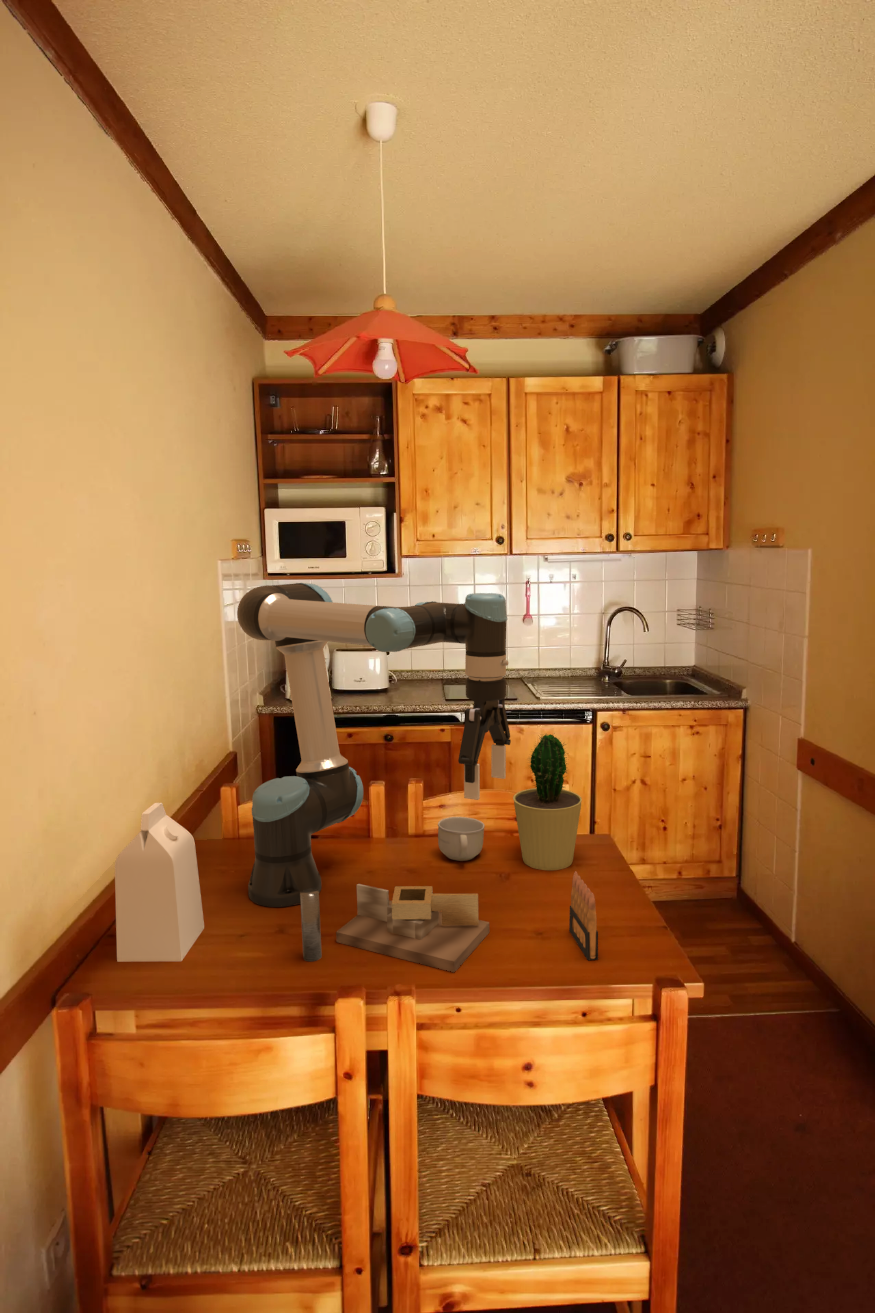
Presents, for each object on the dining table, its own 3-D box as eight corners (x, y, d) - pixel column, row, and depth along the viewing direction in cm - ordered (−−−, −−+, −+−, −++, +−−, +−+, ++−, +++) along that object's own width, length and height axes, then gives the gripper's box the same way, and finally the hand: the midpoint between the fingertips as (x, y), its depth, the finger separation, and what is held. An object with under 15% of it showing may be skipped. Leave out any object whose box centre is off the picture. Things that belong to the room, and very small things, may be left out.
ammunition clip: (598, 960, 130) (599, 894, 129) (588, 961, 130) (588, 895, 129) (578, 930, 141) (578, 868, 139) (569, 930, 141) (569, 869, 139)
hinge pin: (299, 959, 133) (296, 894, 131) (310, 950, 136) (307, 887, 134) (314, 963, 131) (311, 898, 130) (325, 954, 134) (322, 890, 133)
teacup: (441, 846, 182) (441, 814, 181) (486, 847, 181) (486, 815, 180) (433, 870, 169) (432, 836, 168) (481, 872, 167) (481, 837, 166)
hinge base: (336, 942, 138) (334, 900, 137) (379, 907, 152) (378, 869, 150) (454, 972, 127) (453, 928, 126) (489, 932, 141) (488, 891, 140)
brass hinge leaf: (392, 934, 136) (391, 903, 135) (396, 915, 143) (395, 886, 142) (478, 933, 135) (478, 903, 134) (478, 915, 142) (477, 886, 141)
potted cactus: (526, 843, 183) (525, 722, 179) (588, 853, 176) (589, 727, 172) (503, 867, 169) (502, 737, 165) (571, 879, 163) (571, 743, 159)
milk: (145, 928, 145) (134, 797, 142) (204, 927, 145) (195, 797, 141) (117, 961, 133) (104, 820, 130) (181, 961, 133) (171, 819, 129)
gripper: (479, 690, 127) (479, 811, 130) (526, 668, 149) (525, 772, 152) (438, 687, 130) (439, 805, 133) (491, 665, 153) (491, 767, 156)
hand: (485, 787), depth 143 cm, fingers open, 13 cm apart
